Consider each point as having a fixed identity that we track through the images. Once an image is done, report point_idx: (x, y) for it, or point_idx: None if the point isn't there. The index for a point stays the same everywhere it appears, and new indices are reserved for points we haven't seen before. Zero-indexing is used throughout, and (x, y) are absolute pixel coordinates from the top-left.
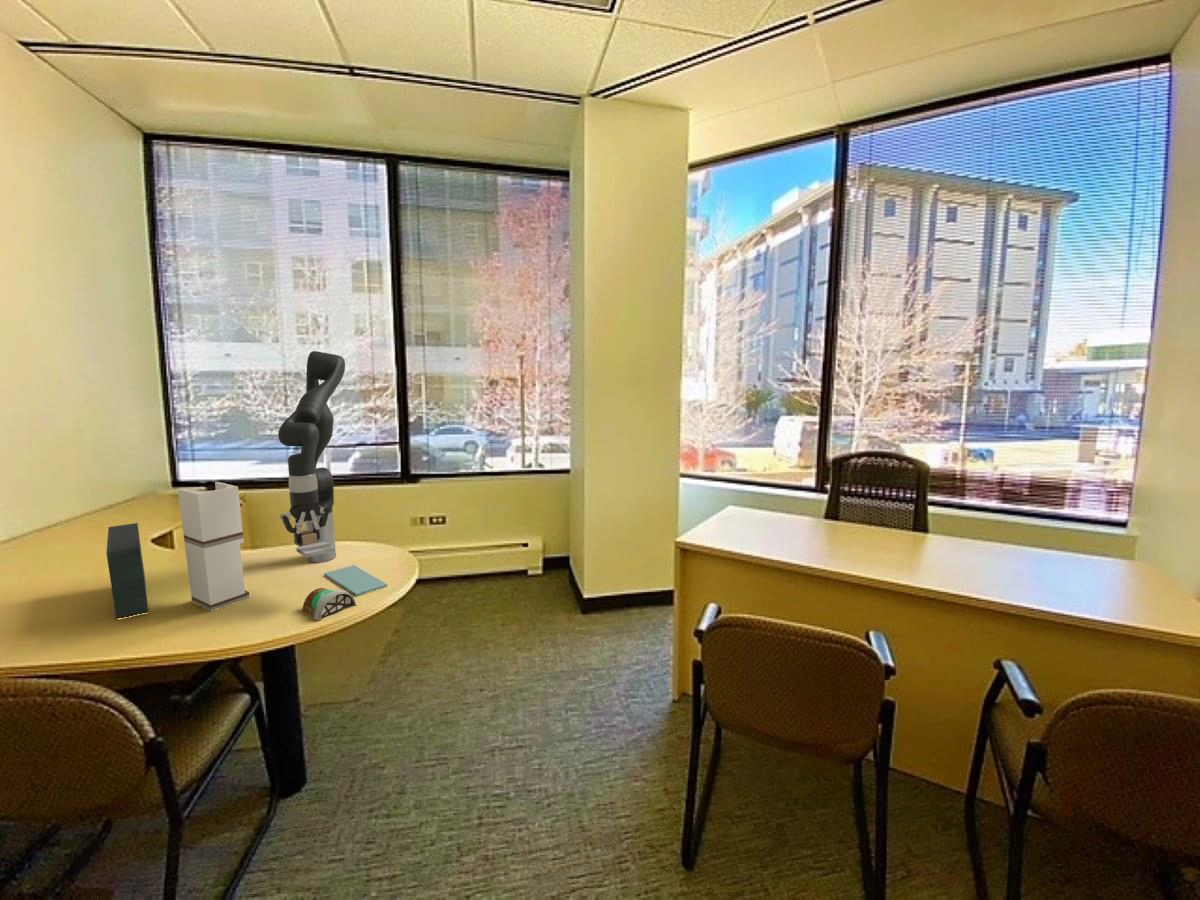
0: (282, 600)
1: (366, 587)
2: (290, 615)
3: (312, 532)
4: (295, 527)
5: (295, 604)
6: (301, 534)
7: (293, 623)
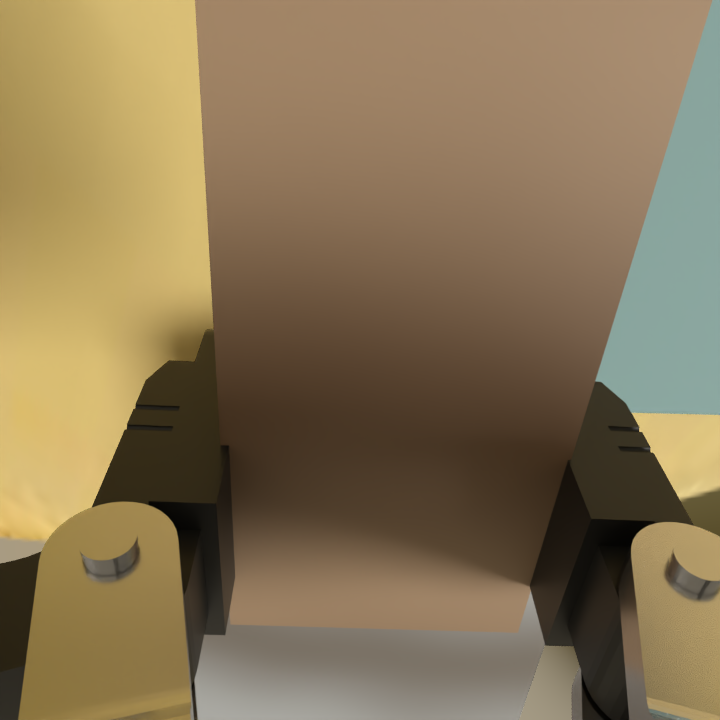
0: (131, 70)
1: (645, 368)
2: (125, 362)
3: (529, 505)
4: (70, 671)
5: (194, 228)
6: (225, 614)
7: None
